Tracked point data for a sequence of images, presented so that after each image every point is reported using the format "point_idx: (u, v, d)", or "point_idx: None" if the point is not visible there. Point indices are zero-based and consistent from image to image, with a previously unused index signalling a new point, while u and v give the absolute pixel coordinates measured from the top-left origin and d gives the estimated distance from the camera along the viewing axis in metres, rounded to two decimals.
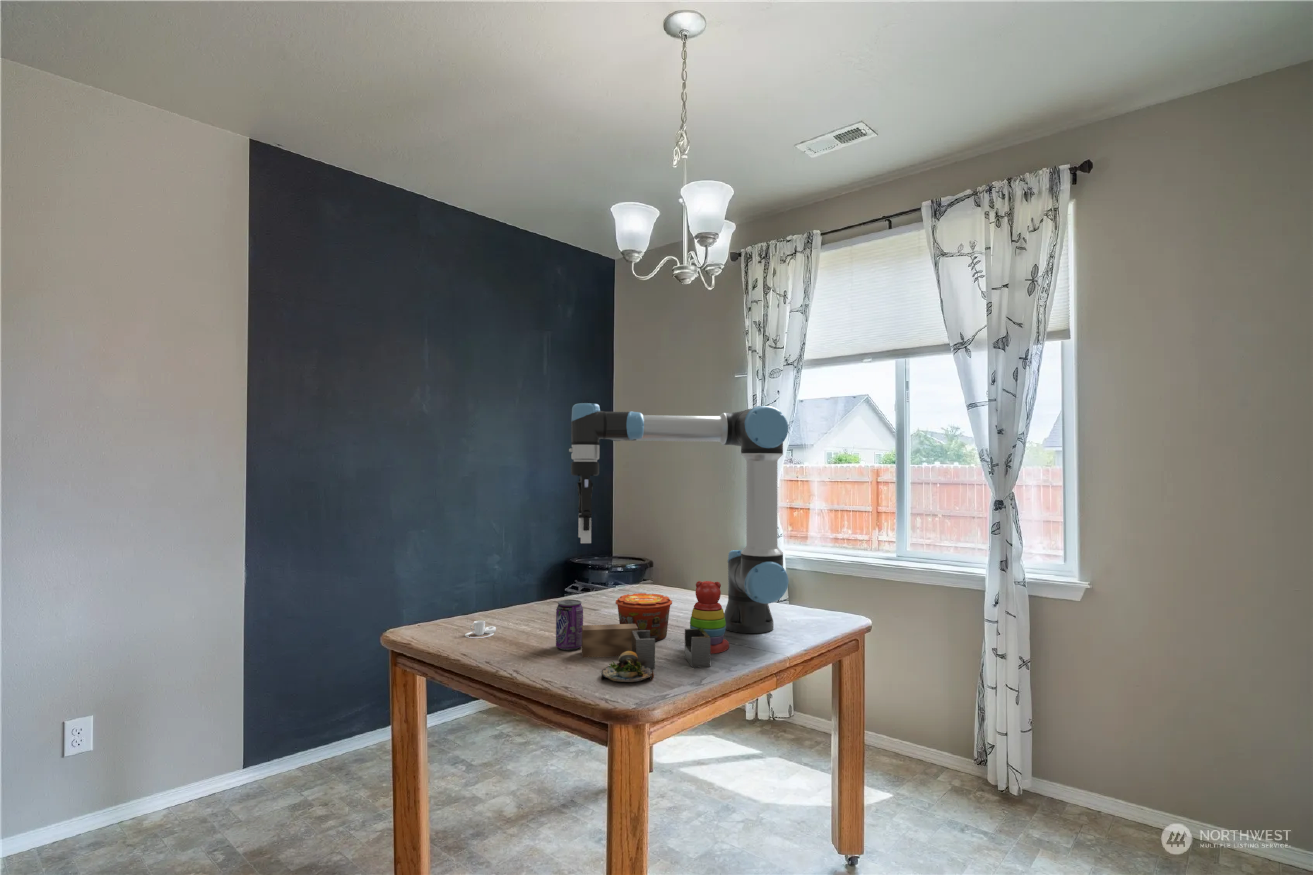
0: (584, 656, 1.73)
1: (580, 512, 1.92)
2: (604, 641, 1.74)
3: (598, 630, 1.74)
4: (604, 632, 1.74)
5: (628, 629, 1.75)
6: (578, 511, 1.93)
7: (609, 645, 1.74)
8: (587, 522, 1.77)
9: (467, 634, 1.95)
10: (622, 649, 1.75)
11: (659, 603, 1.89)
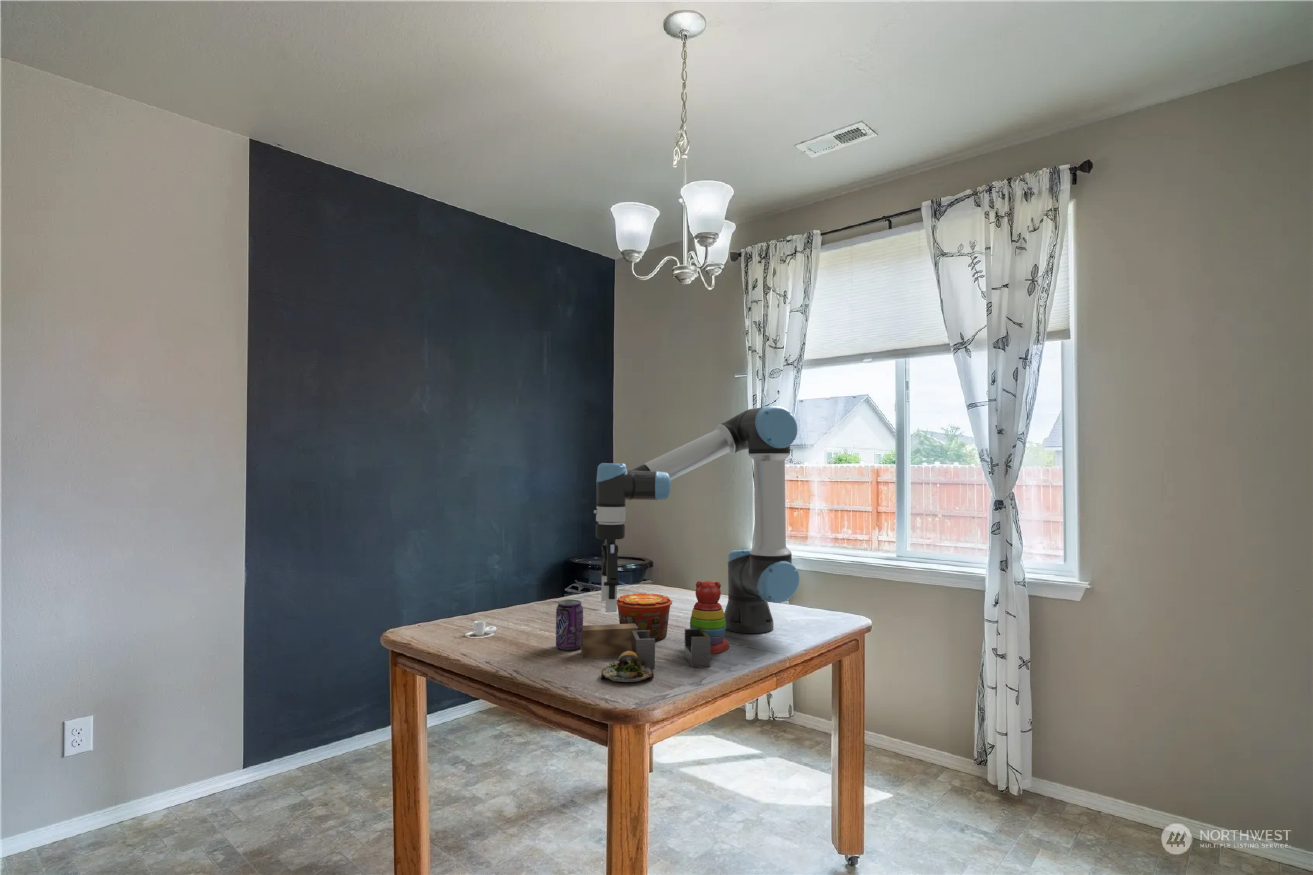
0: (584, 656, 1.73)
1: (603, 574, 1.84)
2: (605, 641, 1.74)
3: (598, 630, 1.74)
4: (605, 632, 1.74)
5: (628, 629, 1.75)
6: None
7: (610, 645, 1.74)
8: (613, 590, 1.69)
9: (467, 634, 1.95)
10: (622, 649, 1.75)
11: (659, 603, 1.89)
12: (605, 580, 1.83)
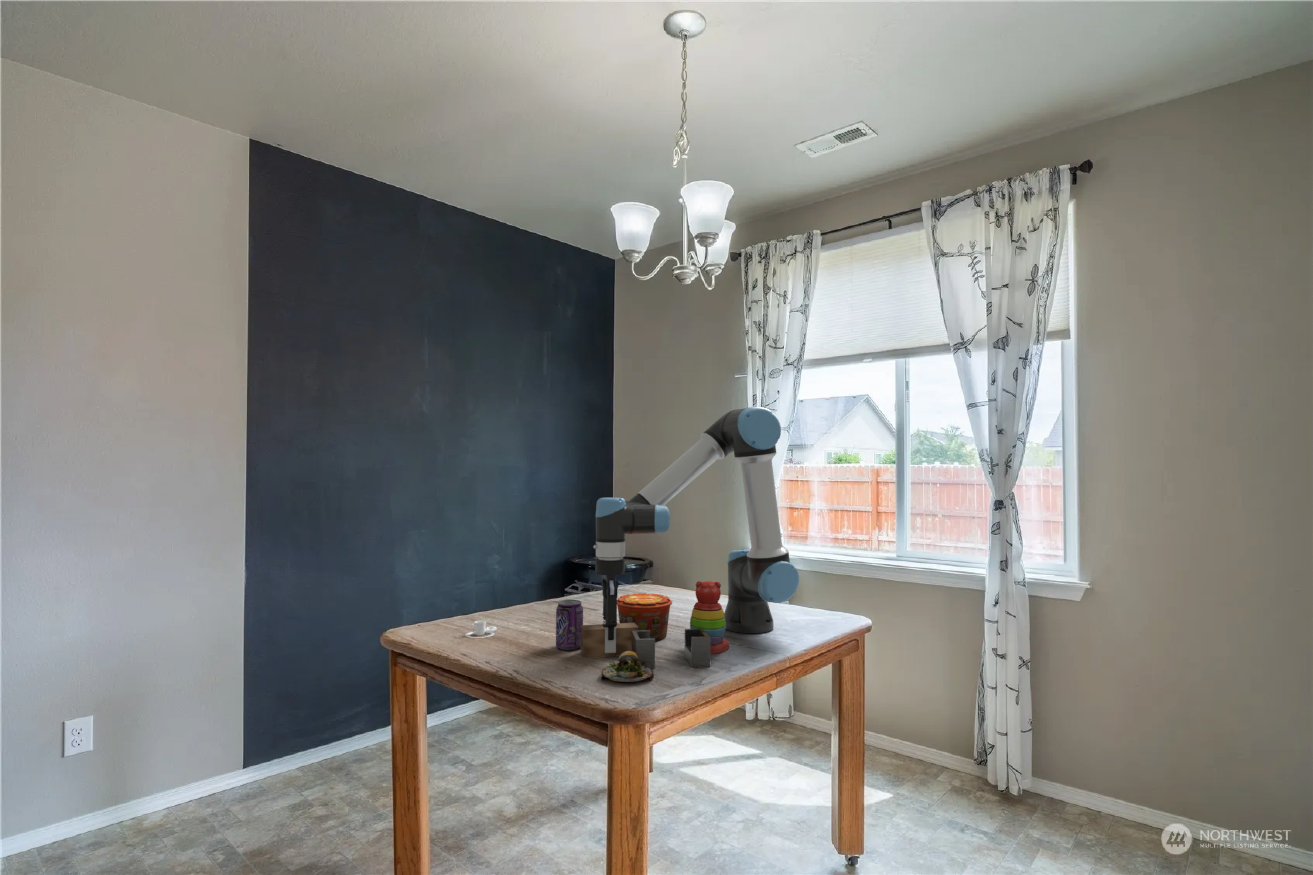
0: (585, 656, 1.73)
1: (605, 619, 1.80)
2: None
3: (599, 630, 1.74)
4: None
5: (628, 628, 1.75)
6: (603, 617, 1.80)
7: None
8: (612, 632, 1.72)
9: (468, 634, 1.95)
10: (622, 648, 1.75)
11: (659, 603, 1.89)
12: None
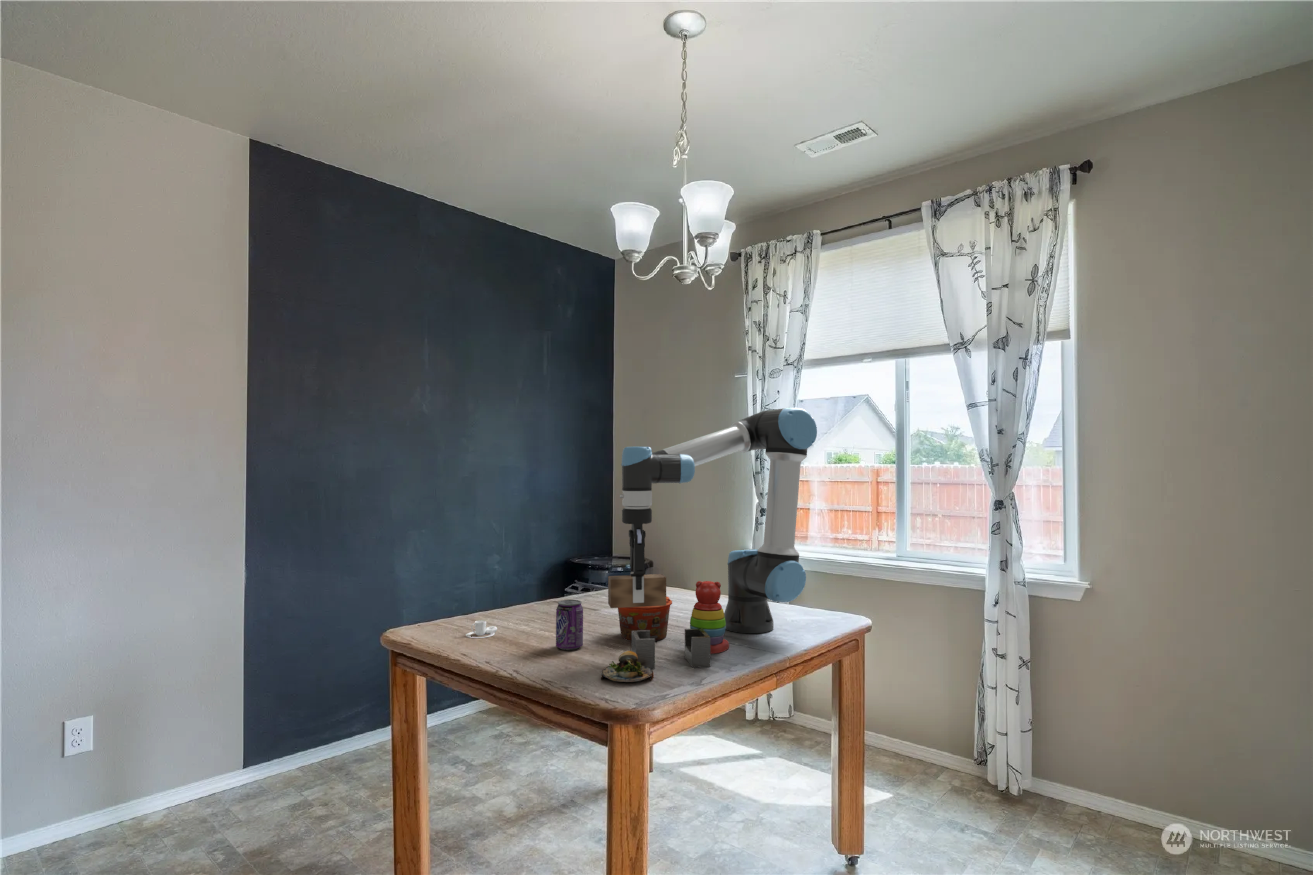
0: (612, 606, 1.70)
1: (632, 570, 1.77)
2: (632, 590, 1.71)
3: (626, 579, 1.71)
4: (632, 581, 1.71)
5: (656, 578, 1.72)
6: (630, 569, 1.77)
7: None
8: (640, 581, 1.69)
9: (468, 634, 1.95)
10: (650, 598, 1.72)
11: None
12: None
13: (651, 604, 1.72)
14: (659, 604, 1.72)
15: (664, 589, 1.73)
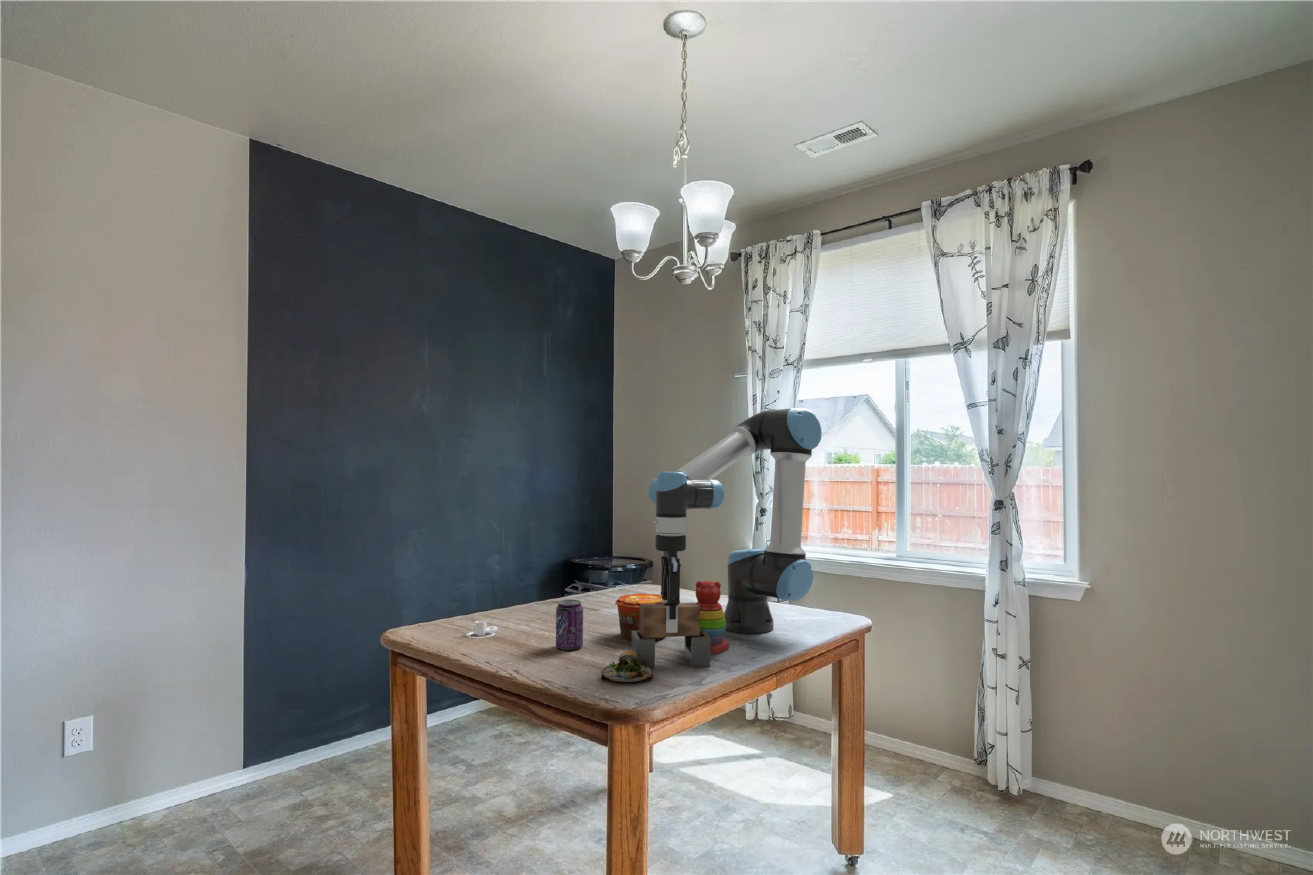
0: (645, 636, 1.65)
1: (664, 598, 1.72)
2: None
3: (659, 608, 1.66)
4: None
5: (690, 607, 1.68)
6: (662, 597, 1.73)
7: None
8: (674, 610, 1.65)
9: (468, 634, 1.95)
10: (684, 628, 1.67)
11: (659, 603, 1.89)
12: None
13: (684, 634, 1.67)
14: (692, 634, 1.68)
15: (698, 619, 1.68)
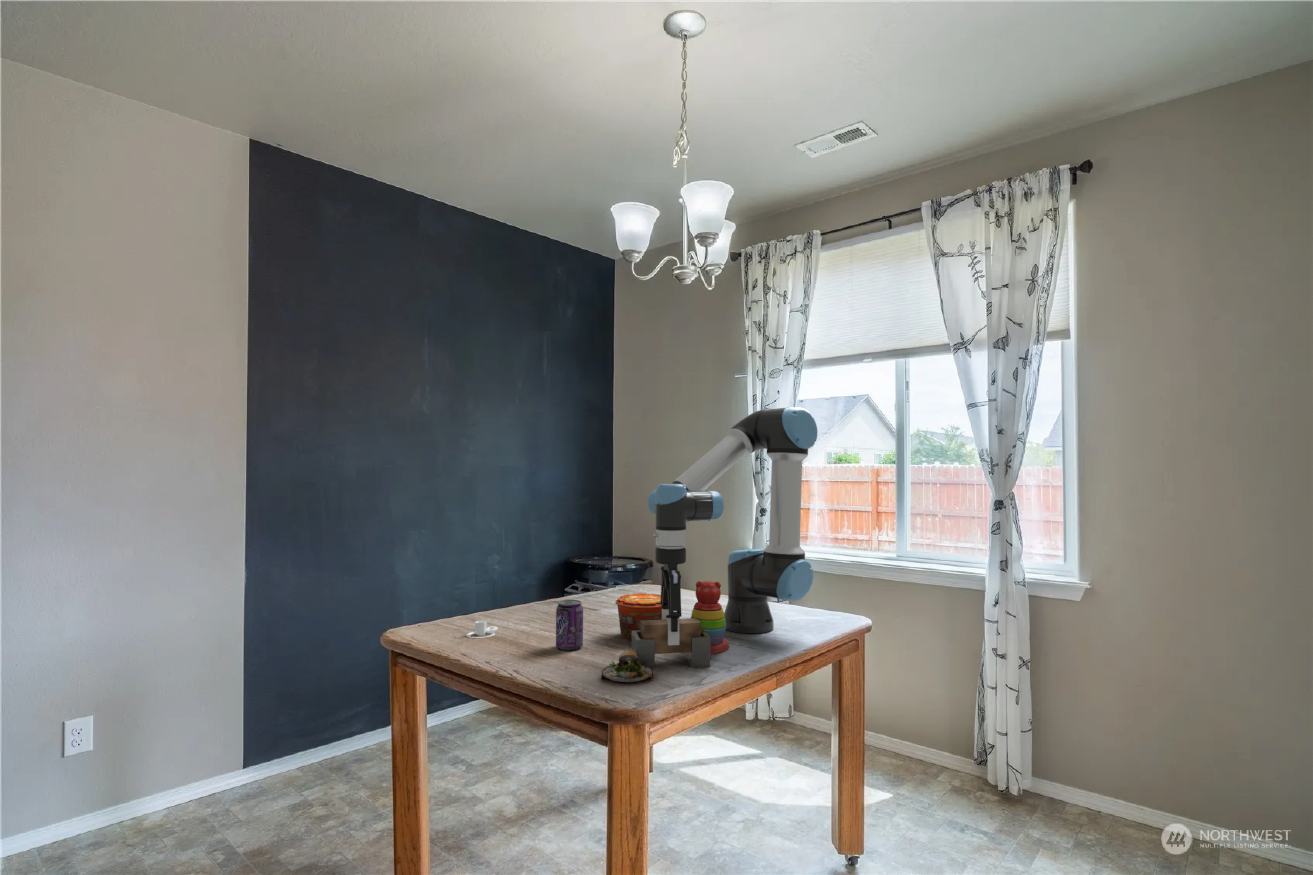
0: None
1: (663, 607, 1.74)
2: (666, 636, 1.66)
3: (660, 625, 1.66)
4: (666, 627, 1.66)
5: (691, 624, 1.68)
6: (661, 606, 1.74)
7: None
8: (675, 623, 1.63)
9: (468, 634, 1.95)
10: (684, 645, 1.67)
11: (659, 603, 1.89)
12: (666, 614, 1.73)
13: (685, 651, 1.67)
14: None
15: (699, 635, 1.68)
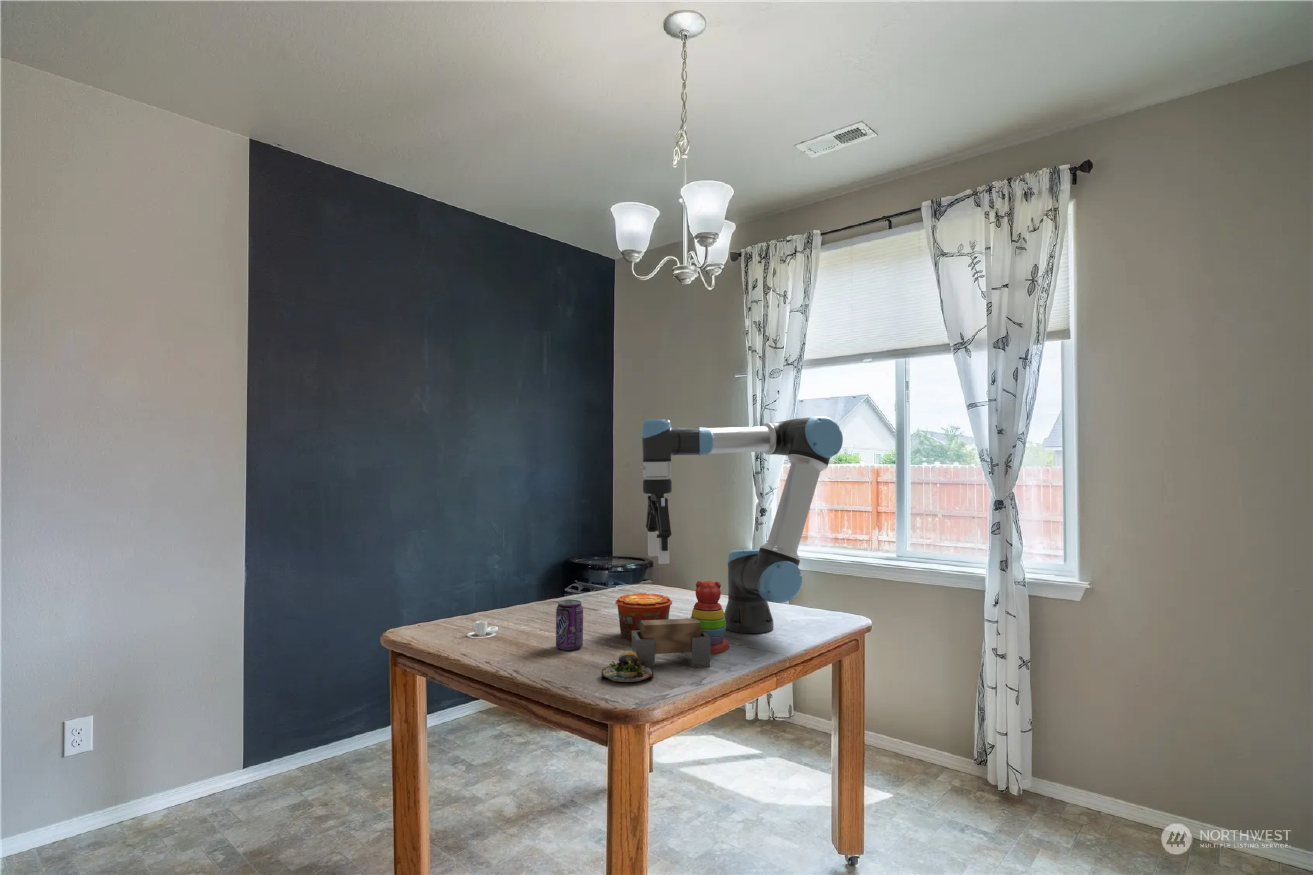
0: None
1: (649, 530, 1.88)
2: (666, 636, 1.66)
3: (660, 625, 1.66)
4: (666, 627, 1.66)
5: (691, 624, 1.68)
6: (647, 529, 1.88)
7: (672, 640, 1.66)
8: (666, 542, 1.72)
9: (469, 634, 1.95)
10: (684, 645, 1.67)
11: (659, 603, 1.89)
12: (651, 536, 1.87)
13: (685, 651, 1.67)
14: None
15: (699, 635, 1.68)
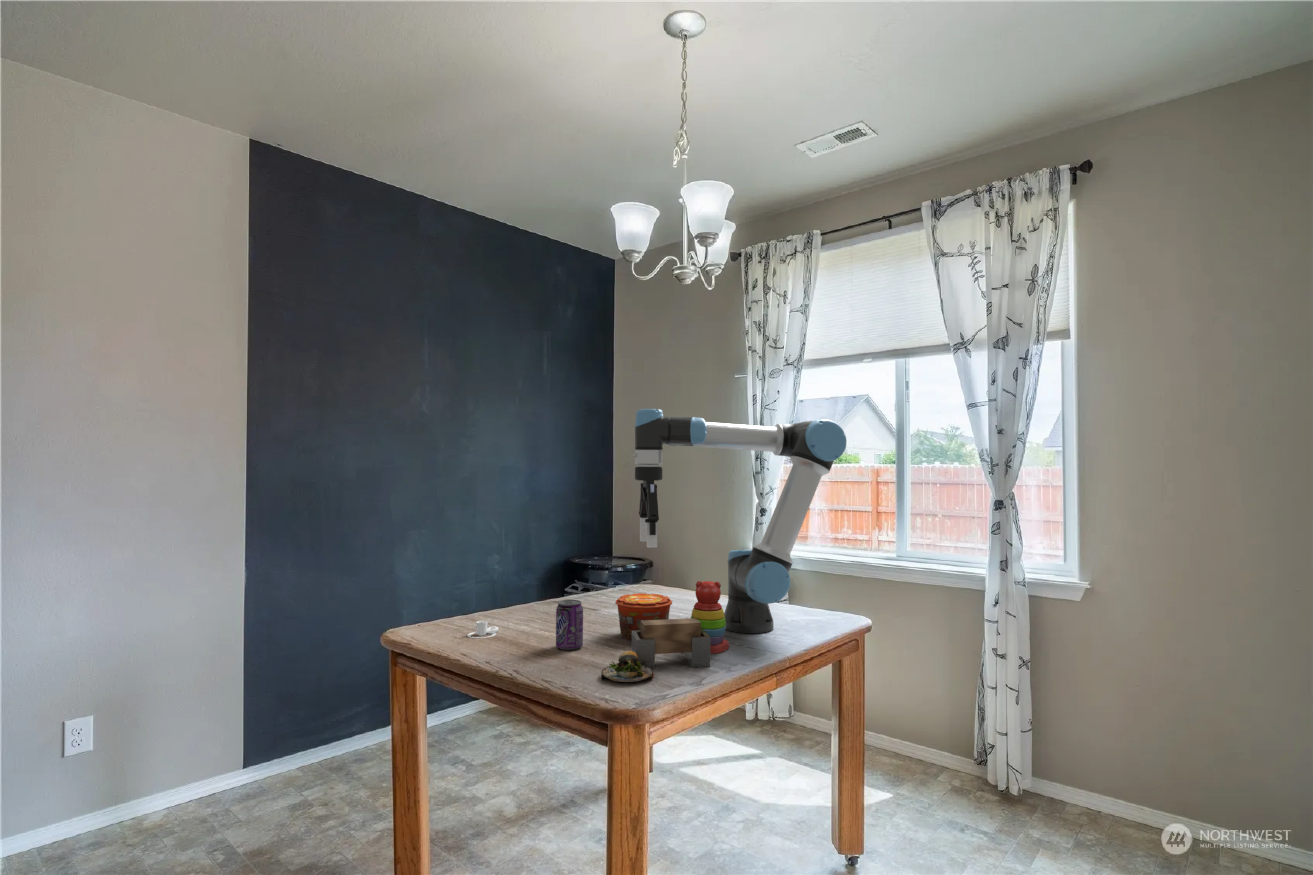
0: None
1: (641, 516, 1.94)
2: (666, 636, 1.66)
3: (660, 625, 1.66)
4: (666, 627, 1.66)
5: (691, 624, 1.68)
6: None
7: (672, 640, 1.66)
8: (654, 527, 1.79)
9: (469, 634, 1.95)
10: (684, 645, 1.67)
11: (659, 603, 1.89)
12: (643, 522, 1.93)
13: (685, 651, 1.67)
14: None
15: (699, 635, 1.68)
